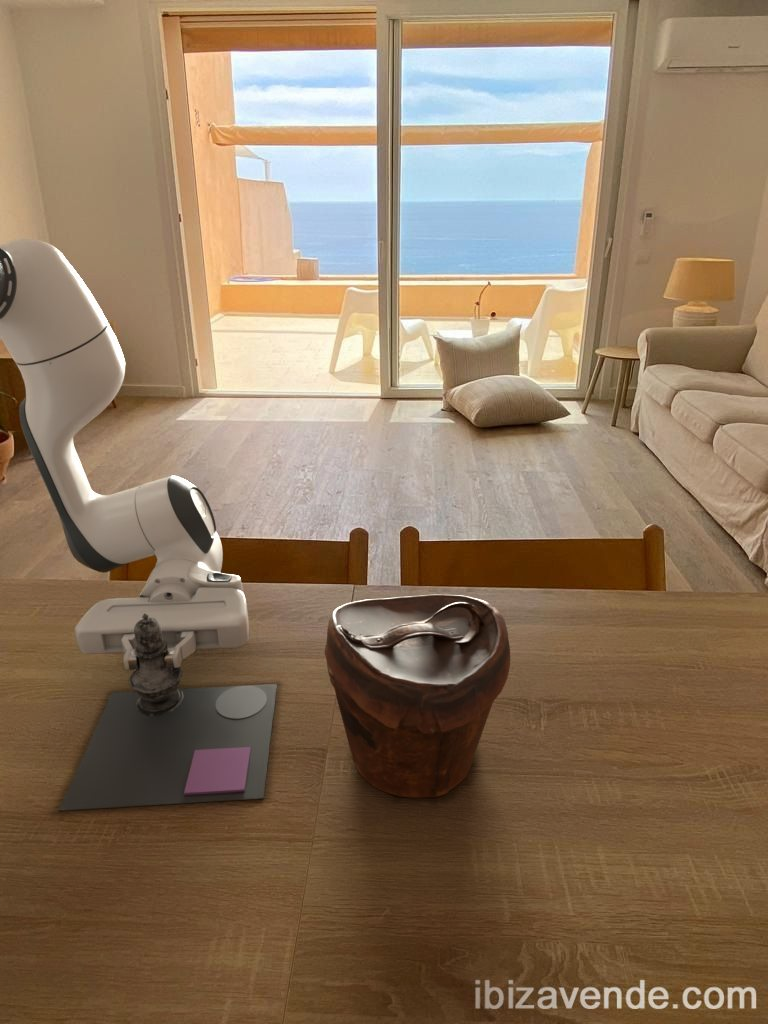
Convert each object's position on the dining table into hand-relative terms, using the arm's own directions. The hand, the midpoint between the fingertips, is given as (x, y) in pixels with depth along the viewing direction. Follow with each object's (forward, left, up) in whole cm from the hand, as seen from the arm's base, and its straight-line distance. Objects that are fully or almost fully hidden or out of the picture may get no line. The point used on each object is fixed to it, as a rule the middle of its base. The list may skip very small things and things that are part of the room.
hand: (151, 664), depth 78 cm
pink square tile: (+8, -10, -7) cm, 14 cm away
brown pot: (+29, -8, -7) cm, 31 cm away
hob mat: (+3, -4, -7) cm, 9 cm away
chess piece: (0, +1, -6) cm, 6 cm away
